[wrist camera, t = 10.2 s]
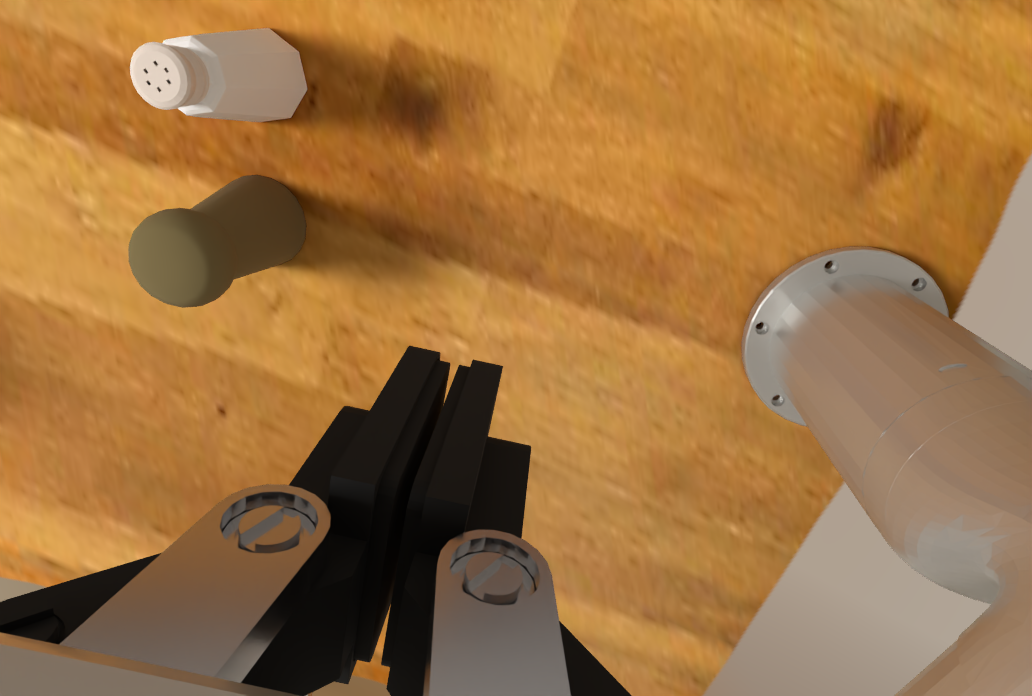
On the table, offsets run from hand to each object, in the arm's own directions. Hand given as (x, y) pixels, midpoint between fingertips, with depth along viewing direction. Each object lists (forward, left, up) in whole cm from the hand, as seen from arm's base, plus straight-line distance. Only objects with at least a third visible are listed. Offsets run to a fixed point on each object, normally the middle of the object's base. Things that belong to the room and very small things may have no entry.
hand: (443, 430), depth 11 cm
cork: (+17, +6, -31) cm, 36 cm away
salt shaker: (+17, -3, -31) cm, 36 cm away
